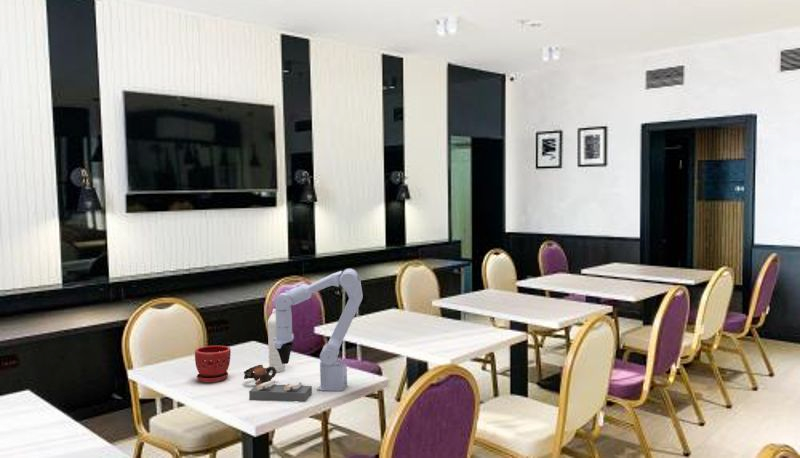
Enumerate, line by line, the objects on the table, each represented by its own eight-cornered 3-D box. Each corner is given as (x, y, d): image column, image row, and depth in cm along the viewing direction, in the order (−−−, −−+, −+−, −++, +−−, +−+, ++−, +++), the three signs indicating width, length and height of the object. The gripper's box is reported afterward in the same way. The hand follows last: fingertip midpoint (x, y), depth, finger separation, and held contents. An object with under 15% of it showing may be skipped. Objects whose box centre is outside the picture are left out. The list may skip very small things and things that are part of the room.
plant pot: (221, 385, 234) (220, 353, 233) (189, 383, 236) (188, 352, 235) (237, 374, 246) (236, 344, 246) (206, 373, 249) (205, 343, 248)
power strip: (312, 394, 221) (311, 385, 221) (304, 401, 213) (304, 392, 213) (258, 392, 225) (258, 383, 224) (249, 399, 217) (249, 390, 216)
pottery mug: (249, 391, 227) (242, 370, 229) (248, 395, 236) (241, 375, 238) (281, 378, 232) (273, 358, 234) (278, 383, 240) (271, 363, 242)
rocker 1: (274, 383, 219) (273, 379, 219) (270, 387, 216) (269, 383, 216) (261, 387, 220) (260, 383, 220) (257, 390, 217) (256, 386, 217)
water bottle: (276, 373, 247) (274, 311, 245) (265, 370, 251) (263, 309, 250) (293, 368, 254) (291, 307, 252) (282, 365, 258) (280, 305, 256)
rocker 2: (301, 385, 218) (300, 381, 218) (298, 388, 214) (297, 384, 214) (288, 387, 219) (287, 383, 219) (284, 391, 215) (283, 387, 215)
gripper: (280, 321, 234) (281, 357, 235) (266, 330, 220) (267, 368, 221) (298, 322, 233) (299, 358, 234) (285, 331, 219) (286, 369, 220)
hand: (285, 363), depth 227 cm, fingers closed
